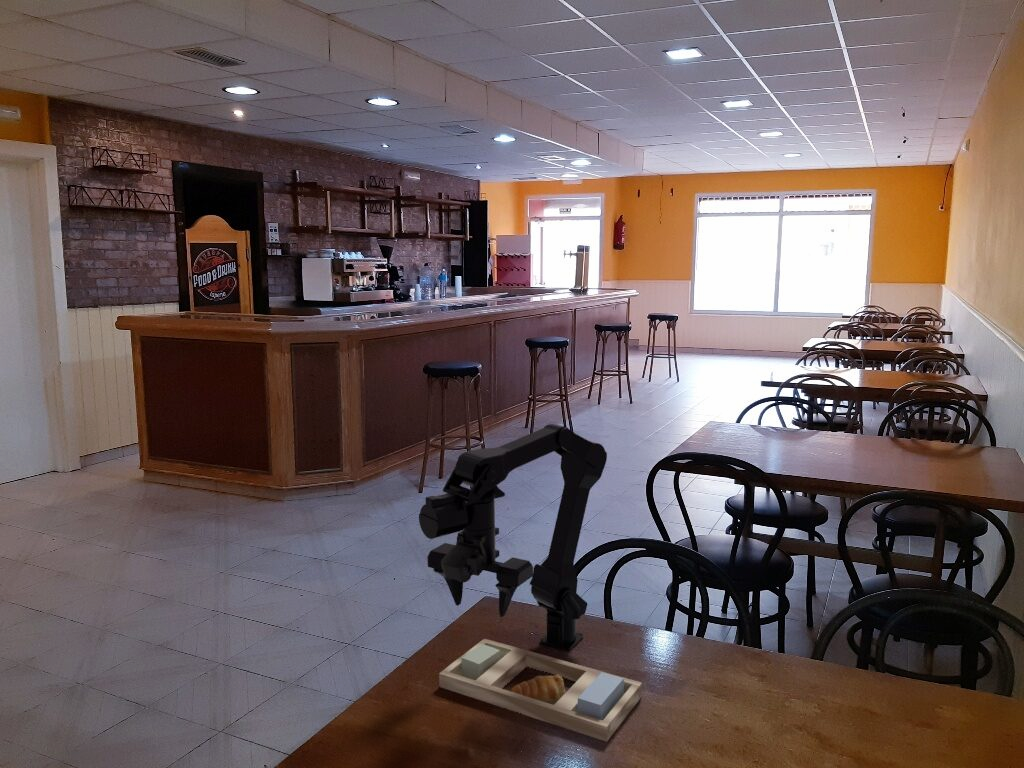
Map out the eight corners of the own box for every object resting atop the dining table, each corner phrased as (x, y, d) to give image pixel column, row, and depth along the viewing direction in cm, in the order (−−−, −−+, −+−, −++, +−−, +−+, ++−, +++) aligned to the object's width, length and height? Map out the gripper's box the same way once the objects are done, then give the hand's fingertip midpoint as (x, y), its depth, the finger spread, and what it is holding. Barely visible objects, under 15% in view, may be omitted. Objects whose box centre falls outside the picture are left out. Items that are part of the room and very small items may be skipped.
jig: (484, 650, 147) (484, 638, 147) (641, 696, 131) (642, 682, 131) (439, 686, 135) (439, 673, 135) (606, 741, 119) (606, 726, 119)
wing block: (601, 697, 132) (601, 672, 131) (623, 703, 130) (623, 678, 129) (577, 724, 124) (577, 698, 123) (600, 731, 122) (600, 705, 121)
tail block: (483, 664, 143) (482, 643, 142) (500, 671, 140) (500, 650, 140) (461, 678, 138) (461, 657, 137) (479, 685, 136) (479, 664, 135)
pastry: (513, 714, 127) (513, 692, 126) (506, 692, 134) (506, 671, 133) (569, 708, 129) (569, 686, 128) (560, 687, 135) (560, 666, 135)
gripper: (406, 530, 133) (409, 616, 135) (499, 549, 123) (501, 642, 126) (444, 511, 142) (446, 593, 145) (534, 528, 133) (534, 615, 135)
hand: (480, 610), depth 137 cm, fingers open, 9 cm apart
